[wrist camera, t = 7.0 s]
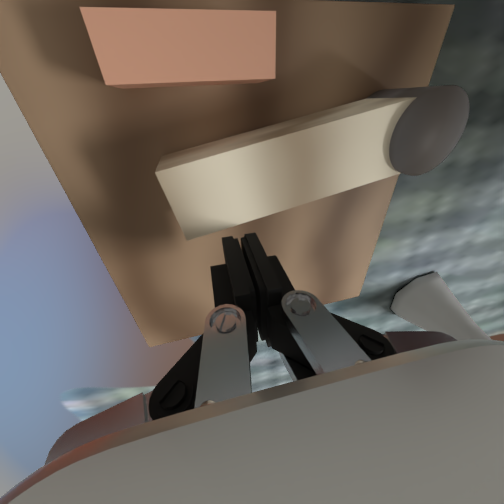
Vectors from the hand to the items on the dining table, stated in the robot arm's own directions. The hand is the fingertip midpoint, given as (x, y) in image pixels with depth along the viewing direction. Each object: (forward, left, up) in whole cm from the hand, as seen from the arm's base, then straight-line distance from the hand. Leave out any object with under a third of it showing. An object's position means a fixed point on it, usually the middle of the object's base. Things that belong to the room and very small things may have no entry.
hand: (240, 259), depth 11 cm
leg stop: (+1, -8, -4) cm, 9 cm away
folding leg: (-4, -4, -4) cm, 7 cm away
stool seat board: (-2, 0, -6) cm, 6 cm away
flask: (-23, +15, -6) cm, 28 cm away
